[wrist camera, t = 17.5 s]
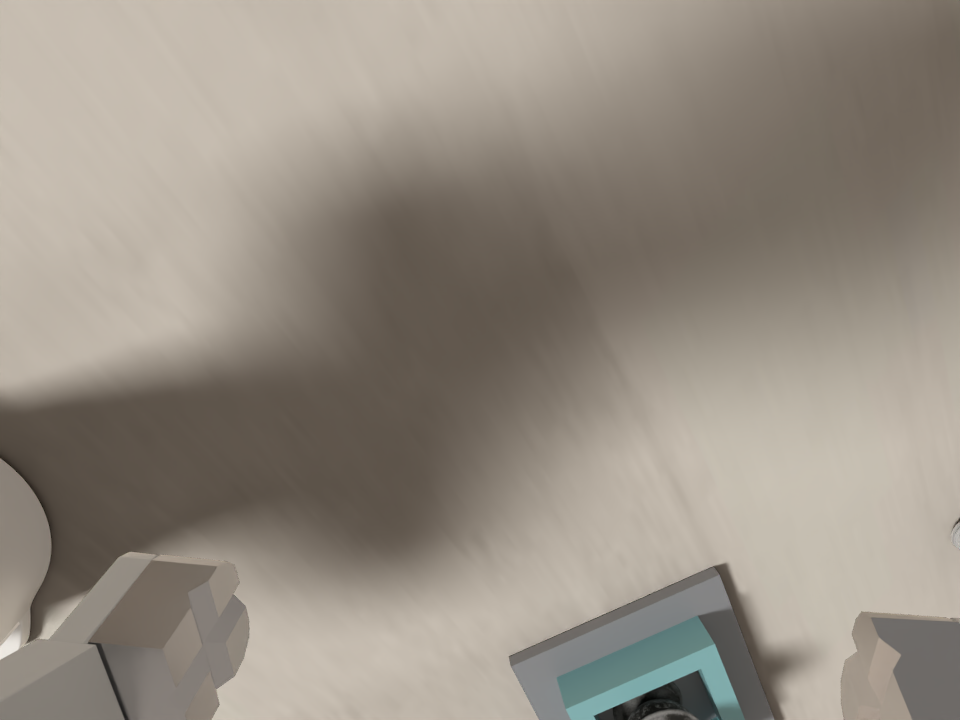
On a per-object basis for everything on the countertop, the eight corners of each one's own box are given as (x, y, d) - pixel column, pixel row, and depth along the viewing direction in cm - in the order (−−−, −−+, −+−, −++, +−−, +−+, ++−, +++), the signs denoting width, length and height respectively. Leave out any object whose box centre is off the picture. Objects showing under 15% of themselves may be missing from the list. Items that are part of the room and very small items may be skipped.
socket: (586, 803, 59) (600, 850, 55) (508, 656, 54) (518, 697, 50) (773, 722, 59) (799, 764, 55) (713, 566, 53) (738, 601, 50)
